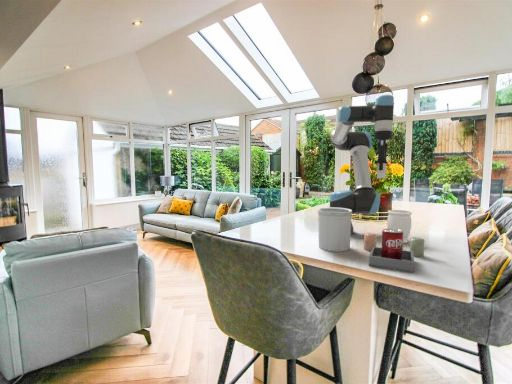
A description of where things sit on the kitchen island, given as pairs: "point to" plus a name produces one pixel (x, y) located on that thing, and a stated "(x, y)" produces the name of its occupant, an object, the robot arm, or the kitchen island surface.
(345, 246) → the utensil holder
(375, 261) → the tray
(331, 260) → the kitchen island surface
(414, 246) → the sage green capsule
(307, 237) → the kitchen island surface
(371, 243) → the peach glossy rounded knob
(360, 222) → the kitchen island surface
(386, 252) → the soda can
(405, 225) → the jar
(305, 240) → the kitchen island surface
